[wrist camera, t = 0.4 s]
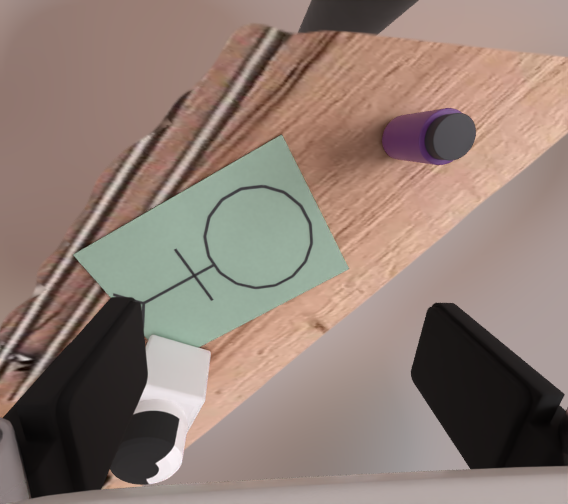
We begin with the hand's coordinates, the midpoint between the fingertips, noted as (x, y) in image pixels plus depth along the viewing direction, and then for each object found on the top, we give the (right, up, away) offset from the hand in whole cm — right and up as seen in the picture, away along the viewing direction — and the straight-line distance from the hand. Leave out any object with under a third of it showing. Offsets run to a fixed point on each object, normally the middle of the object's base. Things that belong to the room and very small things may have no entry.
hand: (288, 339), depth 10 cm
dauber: (+11, +14, +20) cm, 27 cm away
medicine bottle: (-14, -10, +27) cm, 32 cm away
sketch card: (-7, +2, +23) cm, 24 cm away
